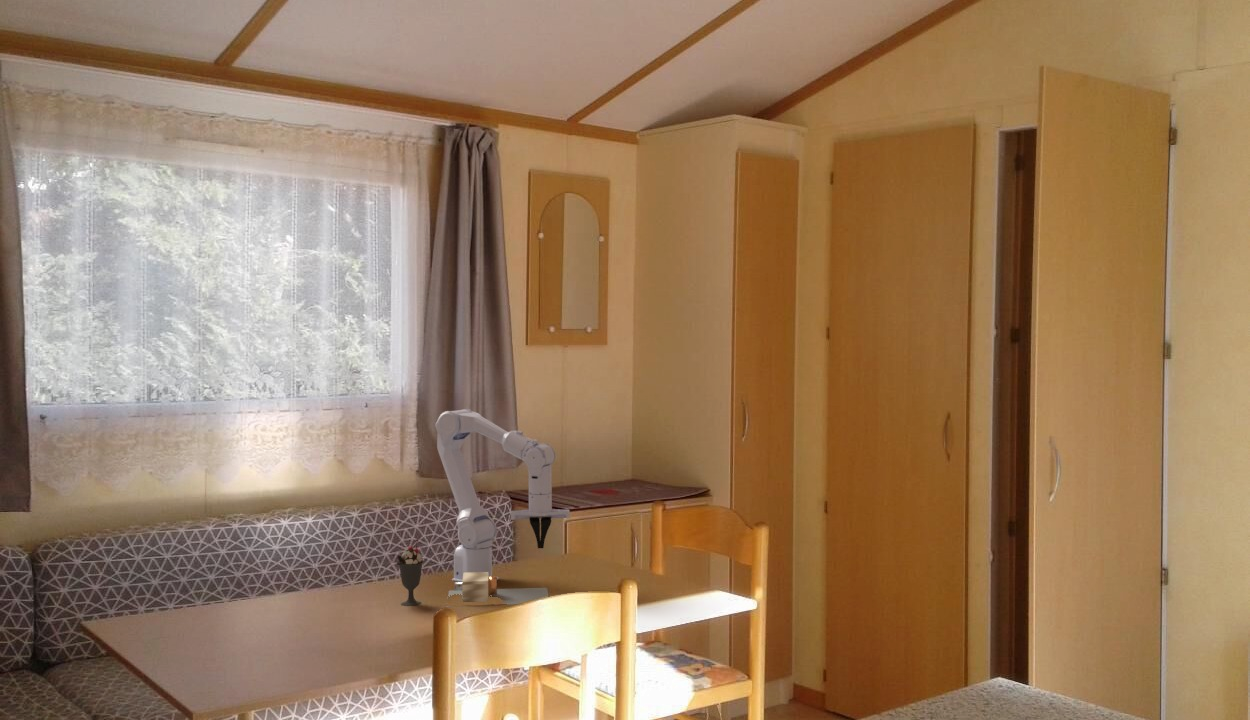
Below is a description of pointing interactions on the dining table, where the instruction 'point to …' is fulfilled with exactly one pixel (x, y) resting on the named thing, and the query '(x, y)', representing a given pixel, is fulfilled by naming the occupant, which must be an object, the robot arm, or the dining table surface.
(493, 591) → the pin
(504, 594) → the mat
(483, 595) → the hitch block
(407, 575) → the sundae
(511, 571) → the dining table surface
